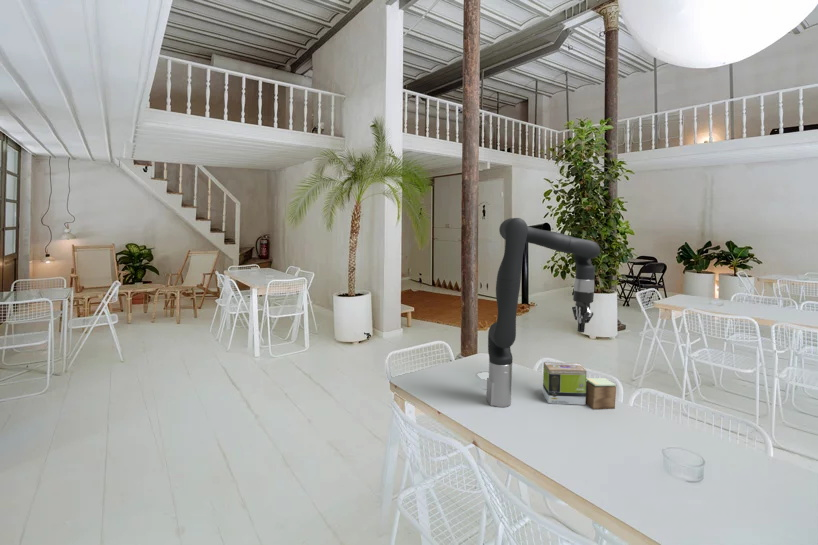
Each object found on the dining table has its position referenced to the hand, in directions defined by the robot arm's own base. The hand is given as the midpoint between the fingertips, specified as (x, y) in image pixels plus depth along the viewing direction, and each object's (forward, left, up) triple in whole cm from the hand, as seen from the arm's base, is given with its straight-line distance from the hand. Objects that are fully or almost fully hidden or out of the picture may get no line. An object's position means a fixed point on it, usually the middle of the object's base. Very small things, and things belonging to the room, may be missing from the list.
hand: (580, 331), depth 166 cm
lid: (+7, -5, -20) cm, 22 cm away
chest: (+7, -5, -29) cm, 30 cm away
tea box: (-5, +1, -30) cm, 30 cm away
